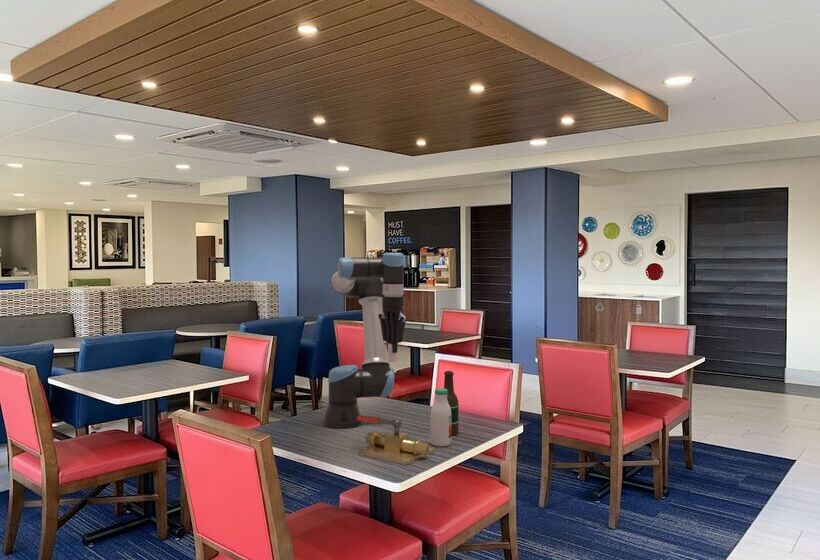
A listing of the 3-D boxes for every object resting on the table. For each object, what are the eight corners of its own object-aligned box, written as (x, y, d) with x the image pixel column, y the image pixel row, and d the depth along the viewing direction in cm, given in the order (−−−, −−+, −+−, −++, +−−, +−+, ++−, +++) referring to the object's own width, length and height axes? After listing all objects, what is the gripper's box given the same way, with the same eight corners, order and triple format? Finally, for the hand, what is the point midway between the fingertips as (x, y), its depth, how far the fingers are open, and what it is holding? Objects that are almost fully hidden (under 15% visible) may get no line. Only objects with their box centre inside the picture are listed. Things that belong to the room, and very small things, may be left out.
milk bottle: (444, 448, 223) (445, 392, 222) (426, 444, 227) (426, 389, 226) (455, 443, 229) (455, 388, 229) (436, 439, 233) (437, 386, 233)
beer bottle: (456, 436, 238) (457, 373, 237) (436, 435, 239) (437, 372, 239) (459, 431, 245) (460, 370, 245) (439, 429, 247) (440, 369, 246)
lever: (402, 424, 217) (402, 419, 217) (399, 426, 214) (399, 421, 214) (360, 419, 224) (360, 414, 224) (356, 421, 221) (356, 416, 221)
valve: (353, 453, 216) (353, 425, 216) (383, 441, 231) (384, 415, 231) (411, 466, 203) (411, 437, 202) (439, 452, 218) (440, 425, 217)
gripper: (372, 295, 225) (372, 360, 226) (398, 297, 216) (397, 365, 217) (388, 294, 231) (387, 358, 232) (413, 296, 222) (412, 362, 223)
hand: (392, 361), depth 225 cm, fingers closed
